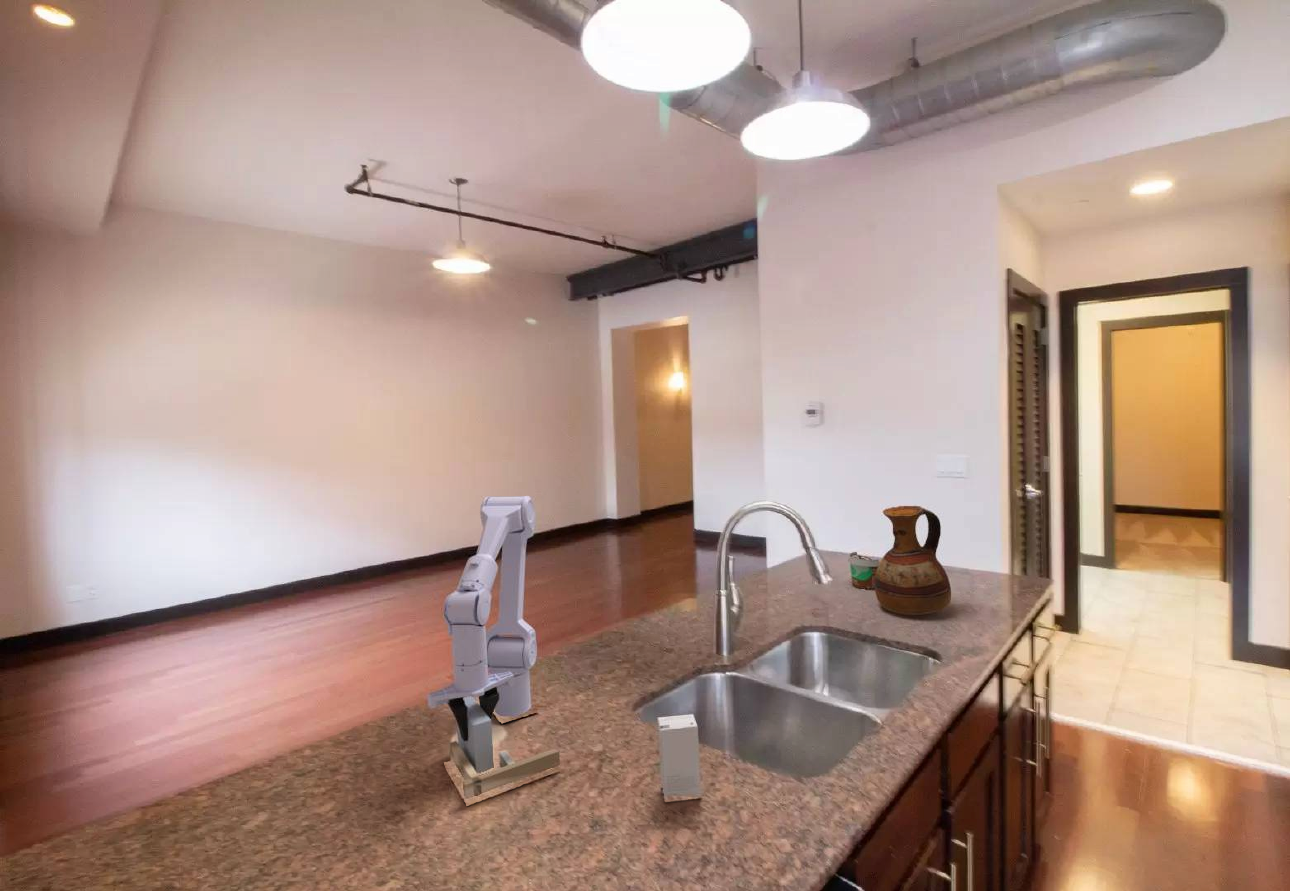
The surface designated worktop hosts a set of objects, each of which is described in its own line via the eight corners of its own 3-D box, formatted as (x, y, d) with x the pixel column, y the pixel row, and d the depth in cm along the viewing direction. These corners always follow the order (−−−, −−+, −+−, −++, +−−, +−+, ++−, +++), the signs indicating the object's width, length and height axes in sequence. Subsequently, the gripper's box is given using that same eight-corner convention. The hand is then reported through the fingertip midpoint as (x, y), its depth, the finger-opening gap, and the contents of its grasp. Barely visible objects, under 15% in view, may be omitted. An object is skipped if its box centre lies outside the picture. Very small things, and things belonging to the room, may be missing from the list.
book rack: (443, 765, 110) (441, 745, 109) (529, 736, 118) (528, 717, 118) (466, 807, 98) (465, 785, 98) (560, 771, 106) (559, 751, 106)
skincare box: (697, 784, 101) (694, 711, 101) (702, 801, 97) (699, 726, 96) (659, 787, 101) (656, 715, 100) (663, 805, 96) (660, 729, 96)
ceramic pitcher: (860, 603, 185) (859, 503, 183) (916, 595, 191) (915, 498, 189) (907, 625, 167) (906, 514, 165) (967, 615, 173) (967, 507, 171)
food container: (840, 583, 207) (839, 553, 206) (856, 580, 208) (855, 551, 208) (863, 593, 195) (863, 562, 194) (880, 591, 197) (880, 559, 196)
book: (458, 748, 114) (455, 700, 113) (474, 742, 115) (471, 695, 115) (476, 777, 105) (473, 725, 104) (494, 771, 106) (491, 720, 106)
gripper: (433, 678, 101) (438, 759, 102) (518, 656, 109) (522, 731, 110) (423, 664, 107) (427, 740, 108) (504, 644, 115) (508, 715, 116)
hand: (474, 735), depth 109 cm, fingers closed on book, 3 cm apart
